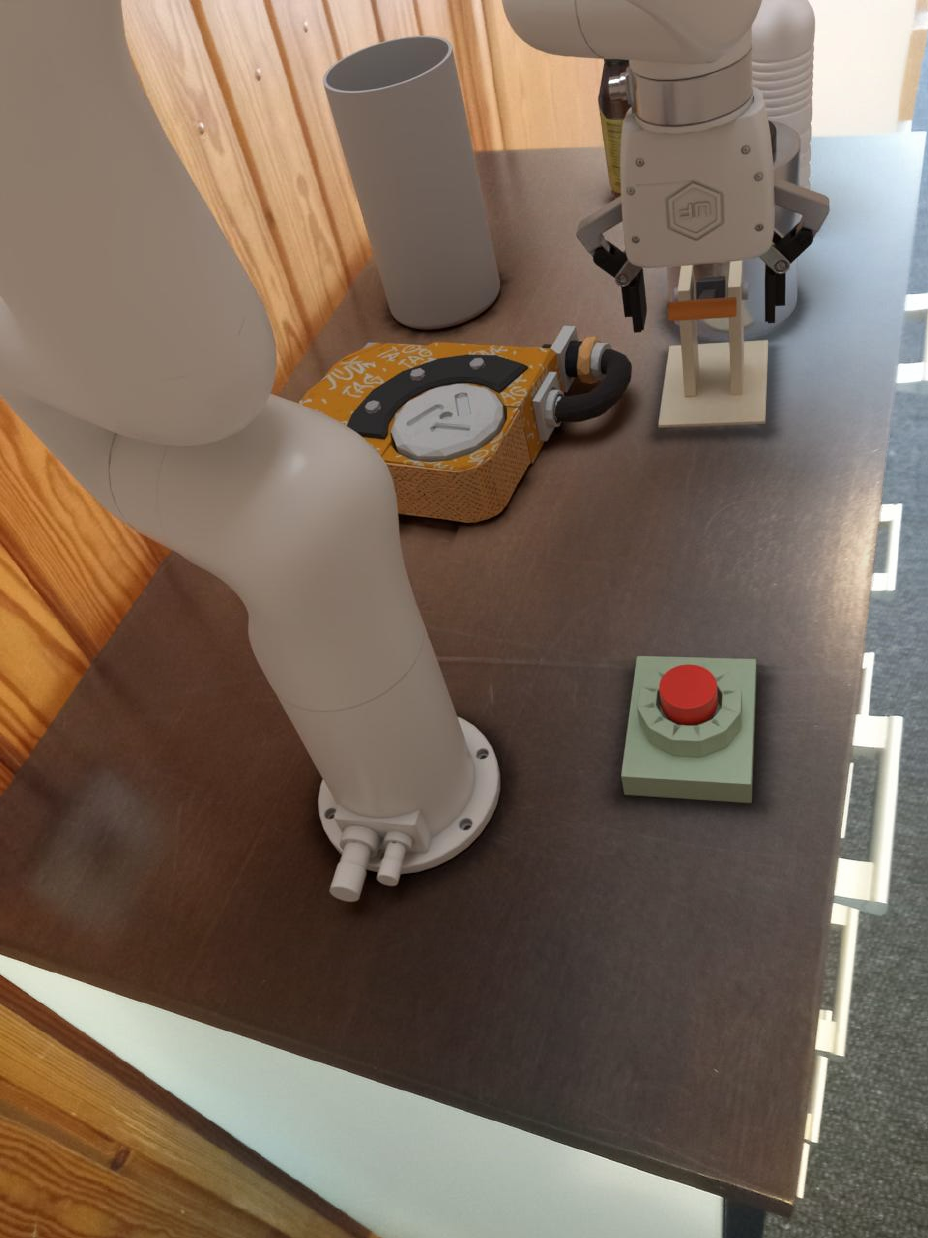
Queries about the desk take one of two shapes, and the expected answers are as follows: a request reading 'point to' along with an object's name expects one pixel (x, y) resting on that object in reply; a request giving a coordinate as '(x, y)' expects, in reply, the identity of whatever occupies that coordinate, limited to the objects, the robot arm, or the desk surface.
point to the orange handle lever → (704, 302)
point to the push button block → (692, 736)
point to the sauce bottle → (612, 121)
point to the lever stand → (715, 368)
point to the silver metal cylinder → (787, 169)
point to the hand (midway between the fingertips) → (704, 317)
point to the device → (466, 413)
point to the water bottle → (786, 68)
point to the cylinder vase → (416, 178)
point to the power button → (688, 694)
